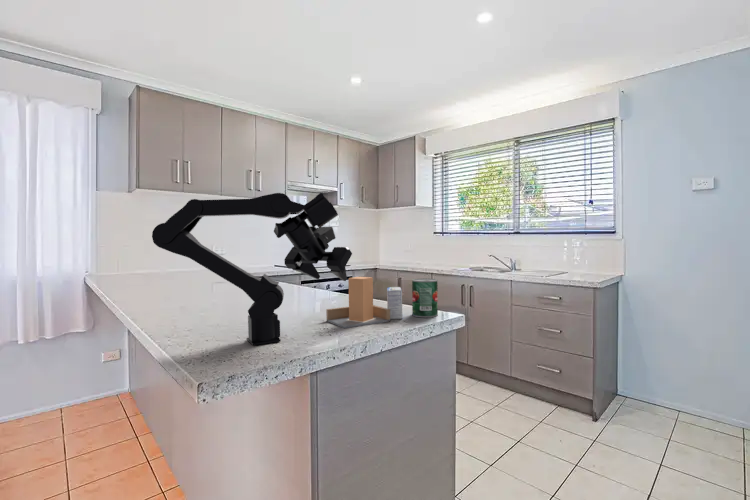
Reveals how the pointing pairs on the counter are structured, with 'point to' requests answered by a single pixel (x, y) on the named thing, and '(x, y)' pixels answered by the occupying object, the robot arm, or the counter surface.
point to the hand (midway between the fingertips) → (332, 278)
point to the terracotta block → (361, 298)
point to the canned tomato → (424, 297)
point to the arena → (342, 319)
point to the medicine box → (394, 302)
